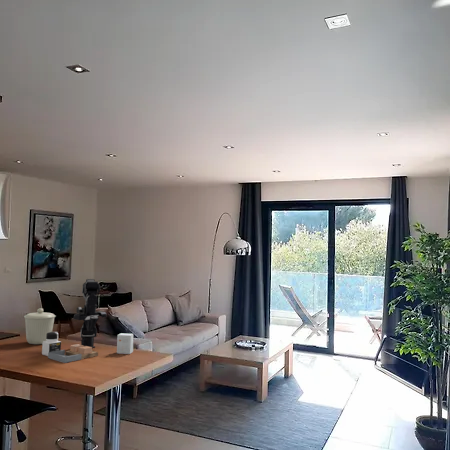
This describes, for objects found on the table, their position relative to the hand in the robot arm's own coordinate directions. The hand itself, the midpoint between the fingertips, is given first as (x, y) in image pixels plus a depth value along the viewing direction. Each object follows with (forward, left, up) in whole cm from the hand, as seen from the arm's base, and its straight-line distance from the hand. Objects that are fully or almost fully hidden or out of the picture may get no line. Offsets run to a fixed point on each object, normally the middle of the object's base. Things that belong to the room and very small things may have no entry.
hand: (89, 330), depth 249 cm
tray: (+18, +4, -12) cm, 22 cm away
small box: (-13, +16, -12) cm, 24 cm away
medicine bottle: (+17, -10, -12) cm, 23 cm away
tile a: (+8, 0, -10) cm, 13 cm away
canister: (+5, -42, -12) cm, 44 cm away
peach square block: (+8, +7, -10) cm, 15 cm away
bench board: (+7, +4, -12) cm, 15 cm away
